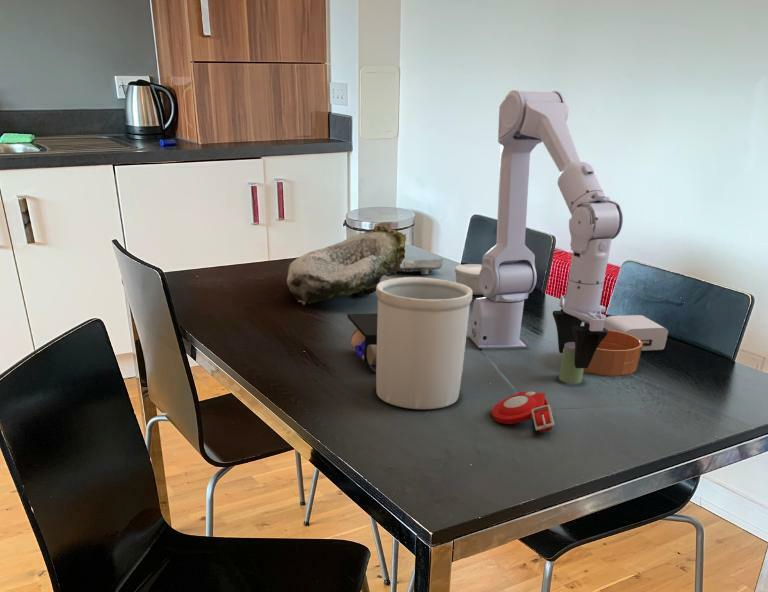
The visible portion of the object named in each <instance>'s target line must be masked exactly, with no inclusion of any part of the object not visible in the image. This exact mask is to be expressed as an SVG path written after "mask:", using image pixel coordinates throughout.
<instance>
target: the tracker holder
mask: <svg viewBox="0 0 768 592" xmlns="http://www.w3.org/2000/svg"><path fill="white" fill-rule="evenodd" d="M552 413H553V412H552V408H551V405H550V404H549V402H548V400H547V399H546V393H544V392H535V391H520V392H517V393H514V394H513V395H510V396H509V397H506V398H504V399H502V400H500V401H499V402H497V403H496V404H495V405H494V406H493V408H492V410H491V415H492V419H493V420H494V421H495V422H496V423H499V424H504V425H512V424H519V423H524V422H526V421H529V420H533V424H534V429H535V431H536V432H537V431H538V433H539V434H542V433H545V432H549V431H551V430H552V429H553V427H554V426H555V420H554V417H553V414H552Z"/></svg>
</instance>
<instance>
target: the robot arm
mask: <svg viewBox="0 0 768 592" xmlns="http://www.w3.org/2000/svg"><path fill="white" fill-rule="evenodd" d="M498 108H499V109H498V132H497V142H498V144H499V145H500V154H499V177H498V200H497V201H498V202H497V222H496V223H497V224H496V243H495V245H493V247H491V248H490V249H489V250H488V251H486V252H485V253H484V254H483V255H482V261H481V265H482V267H481V271H480V273H479V286H480V289H481V291H482V293H483V294H484V295H482V296H483V297H476V298H475V299H474V301H473V304H472V310H471V321H470V322H471V323H470V332H469V335H468V337H469V338H470V340H471V341H472V342H473V343H474V344H475V346H476V347H477V348H478V349H480V350H481V349H489V348H490V349H497V348H499V349H501V348H506V349H507V348H526V347H527V345H526V344H525V343H524V342H523V341H522V340H521V339H520V338H521V329H522V323H523V313H524V307H525V306H524V305H525V300H528V298H529V294H531V293H532V292H533V291H534V289H535V288H536V284H537V281H538V280H537V279H538V275H537V269H536V263H535V261H536V260H535V259H536V255H535V254H534V252H533V251H532V250H530V249H529V248H528V246H527V245H526V231H527V229H526V228H527V216H528V215H527V213H528V199H529V197H528V196H529V195H528V194H529V181H530V180H529V179H530V178H529V177H530V161H531V153H532V151H533V150H534V149H535V148H536V147H537V145H538V144H541V143H542V144H543V145H544V147H545V148H546V150H547V152H548V154H549V156H550V157H551V159H552V161H553V163H554V164H555V166H556V168H557V169H558V171H559V176H558V178H557V187H558V189H559V191H560V193H561V195H562V197H563V199H564V202H565V204H566V207H567V209H568V211H569V213H570V215H571V217H570V218H569V219H568V229H569V234H570V245H569V246H570V250H571V251H572V254H571V259H570V260H571V261H570V266H569V267H570V268H569V272H568V278H567V279H568V280H567V285H566V293H565V295H560V299H559V305H558V307H560V308H561V309H560V310H552V316H553V319H554V322H555V328H556V332H557V333H556V334H557V345H558V353H559V354H563V349H564V345H565V343H568V342H575V367H576V368H588V366H589V364H590V362H591V360H592V357H593V355H594V353H595V351H596V349H597V347H598V346H599V344H600V343H601V341H602V340H603V339H604V338H605V337H606V336H607V334H608V330H607V329H606V328H603V326H604V321H605V320H604V319H605V318H603V315H602V313H606V310H607V308H606V307H605V306H604V305H602V304H601V301H602V295H603V290H604V284H605V280H606V279H605V278H606V273H607V267H608V261H609V255H610V249H611V244H612V240H614V239H616V238H617V237H618V236H619V234H620V233H621V230H622V227H623V222H624V215H623V211H622V208H621V205H620V204H619V202H617V201H616V200H611V198H610V196H606V195H605V193H604V190H603V188H602V186H601V184H600V182H599V180H598V177H597V175H596V174H595V169H594V168H593V165H591V164H590V163H589V162H586V161H581V159H580V157H579V154H578V151H577V148H576V145H575V143H574V140H573V138H572V134H571V132H570V129H569V127H568V123H567V120H568V117H569V110H570V109H569V106H568V105H567V103H566V99H565V97H564V95H563V94H562V92H560V91H558V90H554V91H526V90H525V91H524V90H523V91H522V90H521V91H519V90H516V89H512V90H509V92H508V93H507V94H506V95H505V97H504V99H503V100H502V102H501V103H500V104H499V107H498Z"/></svg>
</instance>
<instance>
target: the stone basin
mask: <svg viewBox="0 0 768 592" xmlns="http://www.w3.org/2000/svg"><path fill="white" fill-rule="evenodd" d="M406 241H407V234H405V233H402V232H400V231H398V230H396V229H395V228H388V227H385V226H380V225H374V227H373V230H371V229H369V230H366V231H364V232H360V233H358V234H356V235H353V236H351V237H348V238H347V239H344V240H342V241H340V242H337V243H334V244H332V245H329V246H325V247H323V248H320V249H315V250H312V251H309V252H307V253H305V254H303V255H301V256H299V257H297V258H296V259H294V260H293V261H292V262H291V263H290V264H289V266H288V268H287V278H286V284H287V286H288V290H289V292H290V293H291V294H292V295H293V297H294V298H295V300H297V302H298V303H301V304H302V305H303V306H305V305H306V304H308V305H310V304H314V303H316V302H318V301H319V302H321V301H322V302H325V301H328V300H329V299H333V298H334V296H345V295H347V296H348V295H351V297H353V298H362V297H365V296H369V295H372V294H374V293H376V287H377V284H379V283H380V282H381V279H382V278H383V277H385V276H386V277H394V276H396V273H397V272H400V271H399V270H400V267H401V265H402V263H403V262H404V259H406V256H405V255H406V254H405V253H406Z"/></svg>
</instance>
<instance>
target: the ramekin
mask: <svg viewBox="0 0 768 592" xmlns="http://www.w3.org/2000/svg"><path fill="white" fill-rule="evenodd" d="M481 267H482V263H479V264H478V263H476V264H475V263H467V264H459V265H457V266H455V267H454V273H455V282H456V283H460V284H463V285H466V286H468V287H469V288H471V289H472V291H473V295H474V296H483V295H484V294H483V293H482V291H481V289H480V286H479V273H480V271H481ZM473 295H472V296H473Z"/></svg>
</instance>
